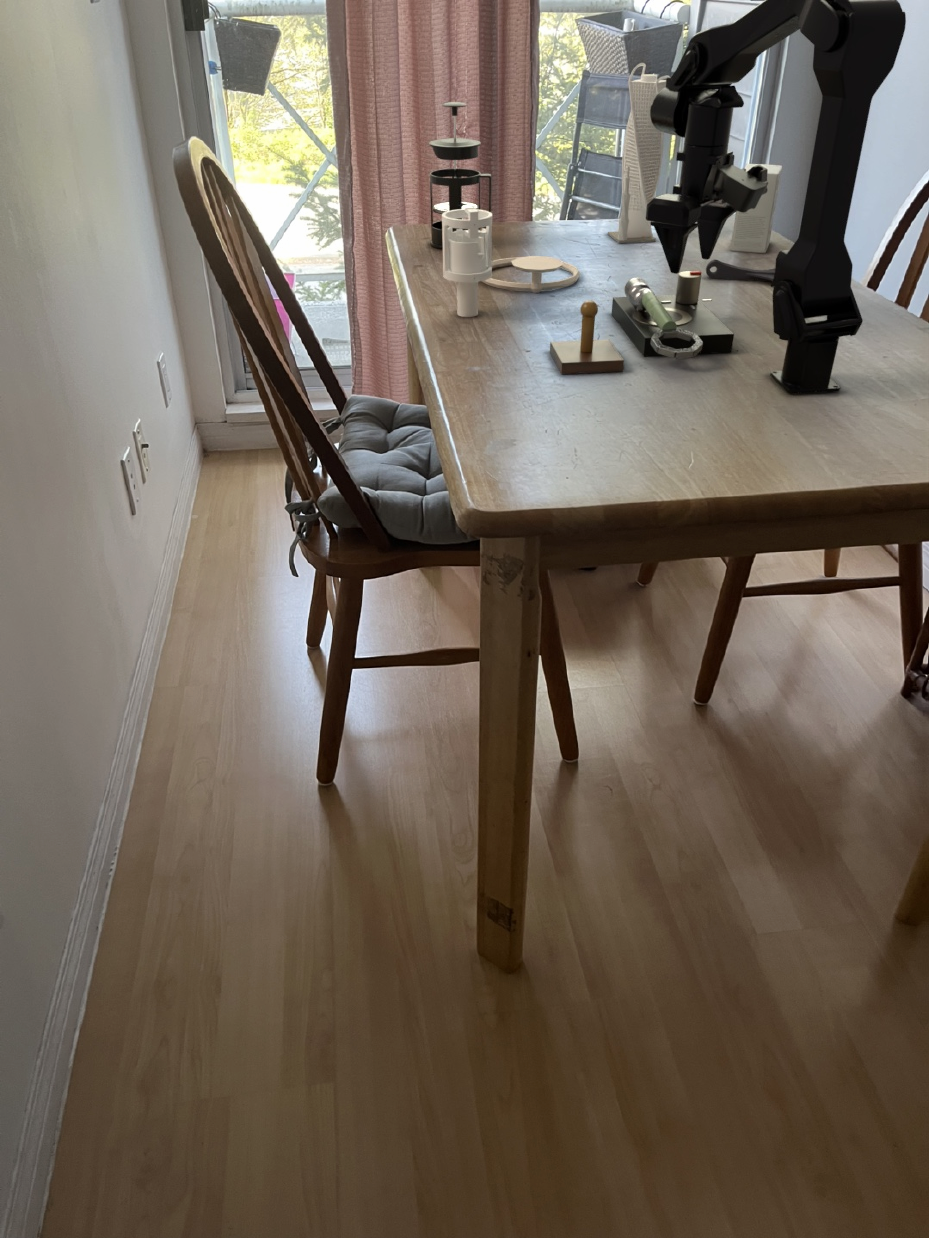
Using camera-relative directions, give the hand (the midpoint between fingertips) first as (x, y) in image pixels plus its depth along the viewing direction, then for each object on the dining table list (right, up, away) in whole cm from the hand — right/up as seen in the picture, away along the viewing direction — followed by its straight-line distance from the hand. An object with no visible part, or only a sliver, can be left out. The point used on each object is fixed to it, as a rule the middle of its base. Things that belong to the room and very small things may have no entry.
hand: (690, 266), depth 133 cm
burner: (-5, -8, -3) cm, 10 cm away
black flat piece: (+15, +5, +21) cm, 26 cm away
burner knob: (0, -4, +3) cm, 5 cm away
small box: (+20, +17, +38) cm, 46 cm away
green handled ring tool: (-6, -11, -5) cm, 13 cm away
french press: (-33, +19, +40) cm, 55 cm away
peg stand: (-16, -16, -10) cm, 25 cm away
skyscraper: (0, +22, +44) cm, 49 cm away
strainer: (-31, -5, +7) cm, 33 cm away
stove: (-3, -10, -1) cm, 10 cm away
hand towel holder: (-21, +5, +21) cm, 30 cm away
